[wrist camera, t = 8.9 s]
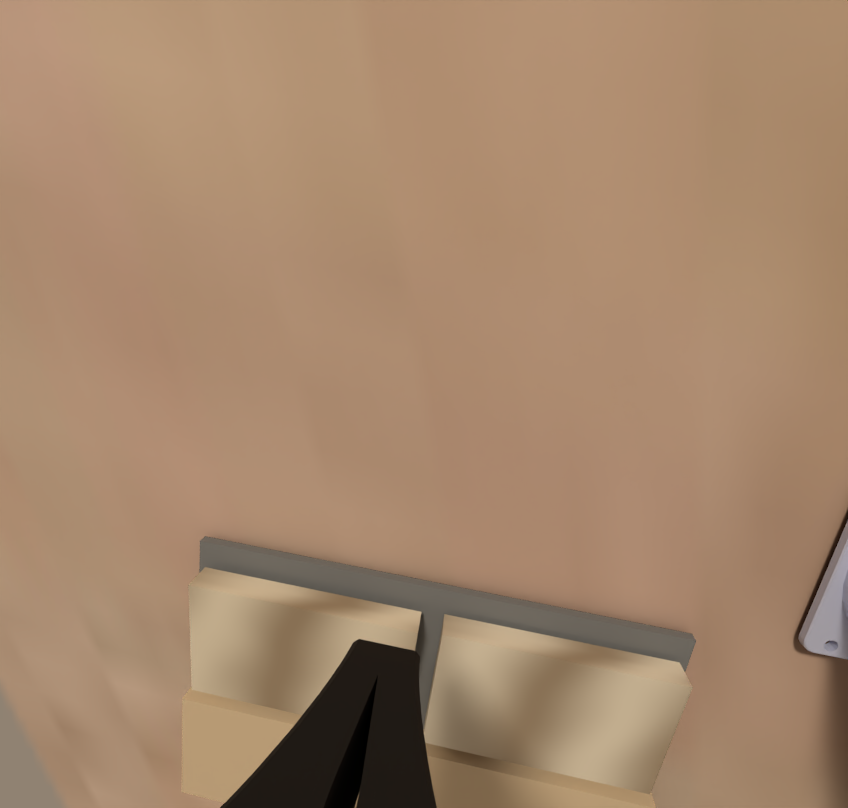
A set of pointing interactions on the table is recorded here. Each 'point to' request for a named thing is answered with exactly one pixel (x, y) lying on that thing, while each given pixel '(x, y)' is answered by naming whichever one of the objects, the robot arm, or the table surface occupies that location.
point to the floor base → (450, 769)
